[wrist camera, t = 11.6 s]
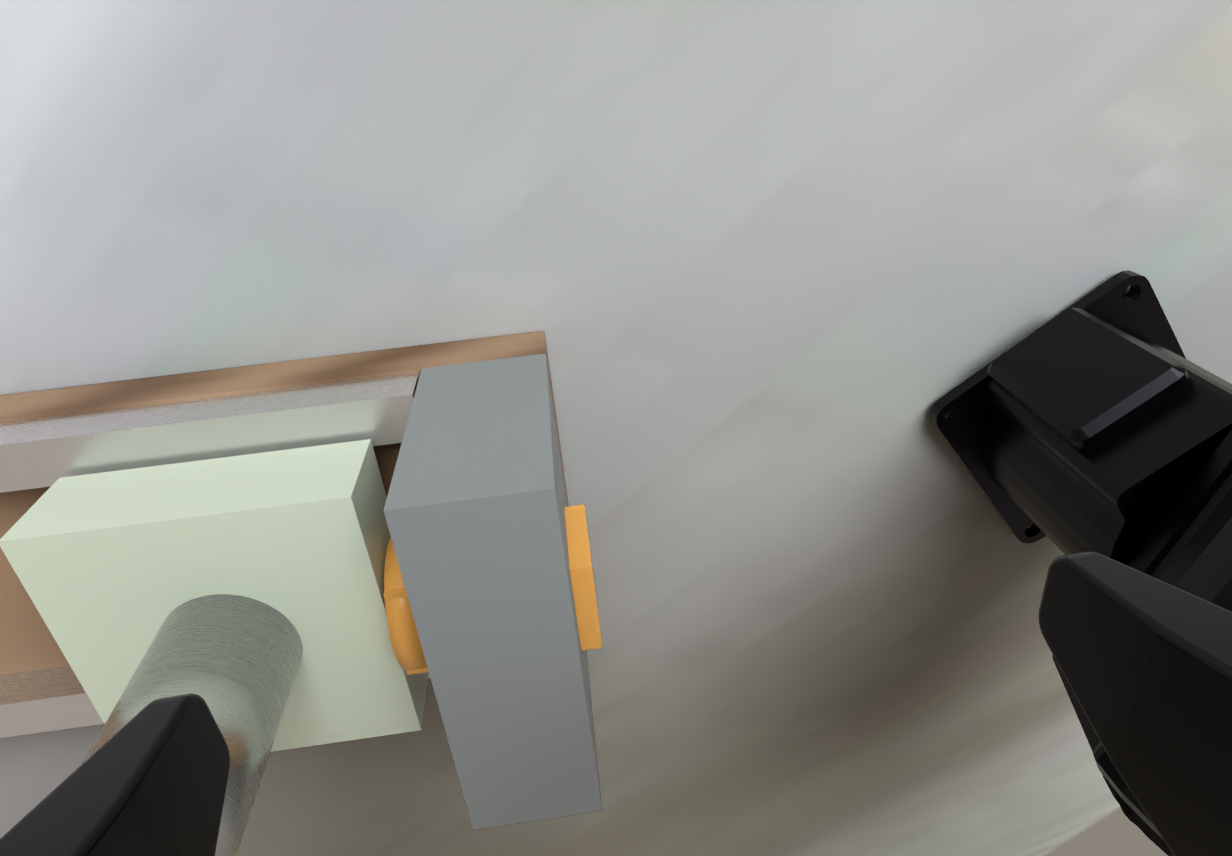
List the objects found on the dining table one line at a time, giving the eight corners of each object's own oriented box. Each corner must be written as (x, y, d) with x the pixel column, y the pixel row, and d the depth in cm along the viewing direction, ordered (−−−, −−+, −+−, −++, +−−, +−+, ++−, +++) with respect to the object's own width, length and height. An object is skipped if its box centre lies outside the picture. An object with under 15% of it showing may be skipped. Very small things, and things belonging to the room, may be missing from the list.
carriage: (370, 439, 18) (218, 883, 9) (430, 658, 21) (364, 1141, 12) (59, 477, 18) (-426, 980, 9) (170, 695, 21) (-93, 1218, 12)
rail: (544, 330, 20) (554, 488, 14) (581, 595, 25) (602, 810, 18) (-391, 441, 19) (-864, 671, 13) (-179, 699, 24) (-448, 968, 17)
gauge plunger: (581, 482, 19) (591, 564, 16) (594, 582, 21) (605, 672, 18) (397, 505, 19) (376, 593, 16) (424, 605, 21) (409, 700, 18)
